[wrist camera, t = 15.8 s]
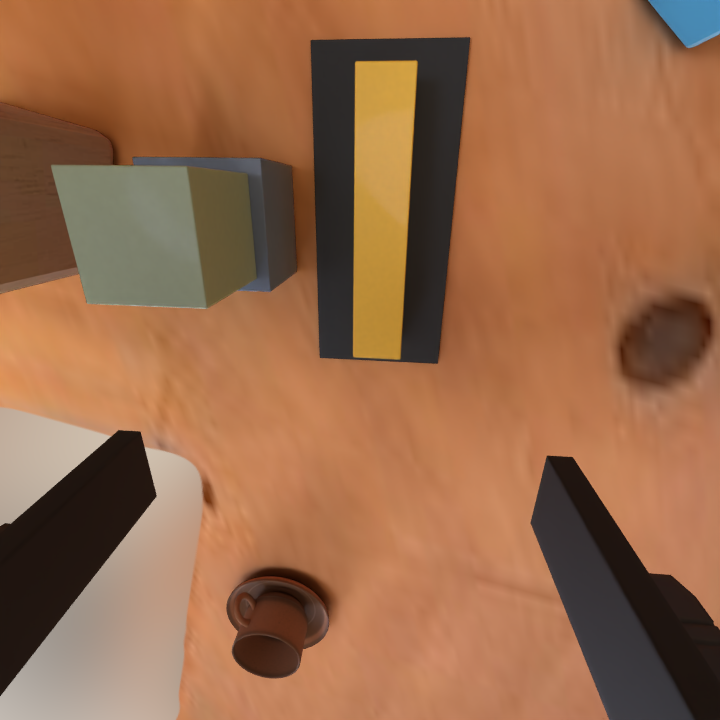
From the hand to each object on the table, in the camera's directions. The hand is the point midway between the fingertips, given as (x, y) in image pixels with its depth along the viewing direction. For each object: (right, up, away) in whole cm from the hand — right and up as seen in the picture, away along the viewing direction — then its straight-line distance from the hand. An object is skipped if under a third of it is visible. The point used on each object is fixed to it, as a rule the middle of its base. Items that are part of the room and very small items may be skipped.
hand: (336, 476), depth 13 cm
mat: (+3, +14, +16) cm, 22 cm away
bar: (+3, +14, +16) cm, 21 cm away
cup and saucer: (-9, -25, +34) cm, 43 cm away
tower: (-8, +15, +17) cm, 24 cm away
